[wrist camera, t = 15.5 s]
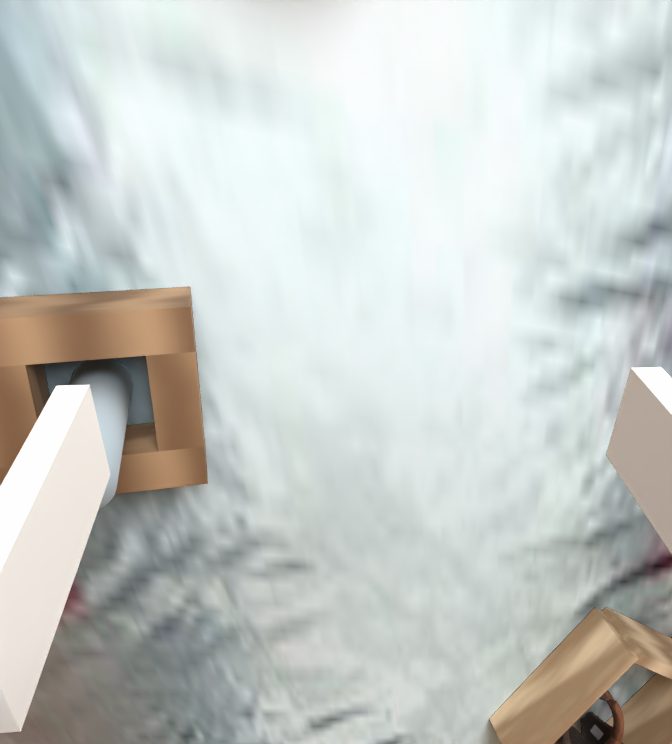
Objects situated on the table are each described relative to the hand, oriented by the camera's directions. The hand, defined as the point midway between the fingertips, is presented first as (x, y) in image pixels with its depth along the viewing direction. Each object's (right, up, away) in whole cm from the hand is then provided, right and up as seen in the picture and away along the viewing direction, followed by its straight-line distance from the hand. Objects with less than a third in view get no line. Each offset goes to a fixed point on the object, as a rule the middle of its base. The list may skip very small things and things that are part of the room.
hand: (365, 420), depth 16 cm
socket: (-17, 0, +28) cm, 33 cm away
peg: (-17, 0, +28) cm, 33 cm away
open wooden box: (+27, -33, +55) cm, 70 cm away
